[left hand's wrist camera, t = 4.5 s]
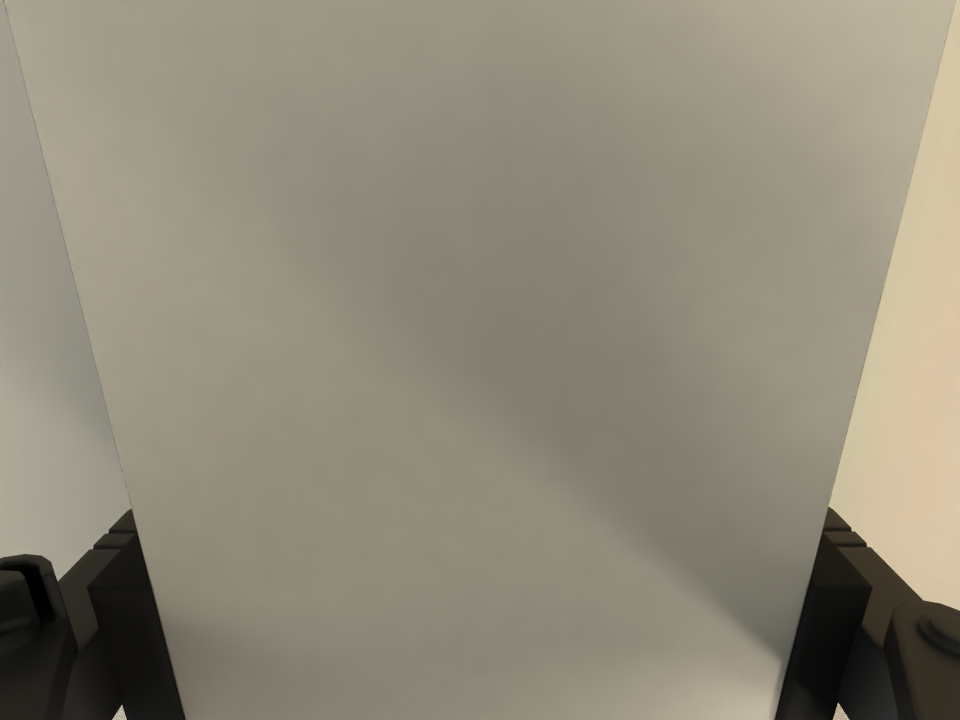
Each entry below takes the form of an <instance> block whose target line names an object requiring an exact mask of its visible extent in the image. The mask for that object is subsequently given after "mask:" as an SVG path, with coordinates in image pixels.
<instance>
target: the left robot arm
mask: <svg viewBox="0 0 960 720" xmlns="http://www.w3.org/2000/svg"><path fill="white" fill-rule="evenodd" d="M838 703H839V704H840V706H841V707H842V709H843V710H844V712H845V713H846V715H847V716H848V718H849V719H850V720H960V611H959V610H956V609H954V608H951V607H948V606H945V605H943V604H940V603H934V602H928V601H923V600H922V599H921V598H920V597H919V596H918V595H917V594H916V593H915V592H914V591H913V590H912V589H911V588H910V587H909V586H908V585H907V584H906V583H905V582H904V581H903V580H902V579H901V578H900V577H899V576H898V575H897V574H896V573H895V572H894V571H893V569H892V568H891V567H890V566H889V565H888V564H887V563H886V562H885V561H884V560H883V559H882V558H881V557H880V556H879V555H878V554H877V553H876V552H875V551H874V550H873V549H872V548H871V547H867V543H866V542H865V541H864V540H863V539H862V538H861V537H860V536H859V535H858V534H857V533H856V532H852V530H851V527H850V526H849V525H848V524H847V523H846V522H845V521H844V520H843V519H842V518H841V517H840V516H839V515H838V514H837V513H836V512H835V511H834V510H833V509H831V508H830V507H828V510H827V514H826V518H825V521H824V525H823V529H822V533H821V537H820V541H819V545H818V549H817V553H816V557H815V561H814V565H813V569H812V573H811V577H810V581H809V585H808V589H807V593H806V597H805V601H804V605H803V609H802V613H801V617H800V621H799V625H798V628H797V632H796V636H795V640H794V644H793V648H792V652H791V656H790V660H789V664H788V668H787V672H786V676H785V680H784V684H783V688H782V692H781V696H780V700H779V704H778V708H777V712H776V716H775V720H833V717H834V714H835V710H836V707H837V704H838ZM121 705H123V709H124V712H125V715H126V718H127V720H185V717H184V713H183V709H182V706H181V702H180V698H179V694H178V690H177V686H176V682H175V678H174V674H173V670H172V666H171V662H170V658H169V654H168V650H167V646H166V642H165V638H164V634H163V630H162V626H161V622H160V618H159V614H158V610H157V606H156V603H155V599H154V595H153V591H152V587H151V583H150V579H149V575H148V571H147V567H146V563H145V559H144V555H143V551H142V547H141V543H140V539H139V535H138V531H137V527H136V523H135V519H134V515H133V511H132V509H130V510H129V511H127V512H126V513H125V514H124V515H123V516H122V517H121V518H120V519H119V520H118V521H117V522H116V523H115V524H114V525H113V526H112V527H111V528H110V529H109V533H108V534H104V535H103V536H102V537H101V538H100V539H99V540H98V541H97V542H96V543H95V544H94V547H93V549H90V550H89V551H88V552H87V553H86V554H85V555H84V556H83V557H82V558H81V559H80V560H79V561H78V562H77V563H76V564H75V565H74V566H73V567H72V568H71V569H70V570H69V571H68V572H67V573H66V574H65V575H64V576H63V577H62V578H61V579H60V580H59V581H58V582H57V579H56V576H55V573H54V570H53V567H52V563H51V562H50V561H49V560H47V559H46V558H44V557H43V556H39V555H28V554H23V555H16V556H10V557H3V558H0V720H112V719H113V717H114V716H115V714H116V713H117V711H118V710H119V708H120V706H121Z"/></svg>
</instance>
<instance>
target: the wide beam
mask: <svg viewBox="0 0 960 720" xmlns="http://www.w3.org/2000/svg"><path fill="white" fill-rule="evenodd" d="M955 2H956V0H4V4H5V8H6V12H7V16H8V20H9V24H10V28H11V32H12V36H13V40H14V44H15V48H16V52H17V56H18V60H19V64H20V68H21V72H22V76H23V80H24V84H25V88H26V92H27V95H28V99H29V103H30V107H31V111H32V115H33V119H34V123H35V127H36V131H37V135H38V139H39V143H40V147H41V151H42V155H43V159H44V163H45V167H46V171H47V175H48V179H49V183H50V187H51V191H52V195H53V198H54V202H55V206H56V210H57V214H58V218H59V222H60V226H61V230H62V234H63V238H64V242H65V246H66V250H67V254H68V258H69V262H70V266H71V270H72V274H73V278H74V282H75V286H76V290H77V294H78V297H79V301H80V305H81V309H82V313H83V317H84V321H85V325H86V329H87V333H88V337H89V341H90V345H91V349H92V353H93V357H94V361H95V365H96V369H97V373H98V377H99V381H100V385H101V389H102V393H103V397H104V400H105V404H106V408H107V412H108V416H109V420H110V424H111V428H112V432H113V436H114V440H115V444H116V448H117V452H118V456H119V460H120V464H121V468H122V472H123V476H124V480H125V484H126V488H127V492H128V496H129V500H130V503H131V507H132V511H133V515H134V519H135V523H136V527H137V531H138V535H139V539H140V543H141V547H142V551H143V555H144V559H145V563H146V567H147V571H148V575H149V579H150V583H151V587H152V591H153V595H154V599H155V603H156V606H157V610H158V614H159V618H160V622H161V626H162V630H163V634H164V638H165V642H166V646H167V650H168V654H169V658H170V662H171V666H172V670H173V674H174V678H175V682H176V686H177V690H178V694H179V698H180V702H181V706H182V709H183V713H184V717H185V720H775V716H776V712H777V708H778V704H779V700H780V696H781V692H782V688H783V684H784V680H785V676H786V672H787V668H788V664H789V660H790V656H791V652H792V648H793V644H794V640H795V636H796V632H797V628H798V625H799V621H800V617H801V613H802V609H803V605H804V601H805V597H806V593H807V589H808V585H809V581H810V577H811V573H812V569H813V565H814V561H815V557H816V553H817V549H818V545H819V541H820V537H821V533H822V529H823V525H824V521H825V518H826V514H827V510H828V506H829V502H830V498H831V494H832V490H833V486H834V482H835V478H836V474H837V470H838V466H839V462H840V458H841V454H842V450H843V446H844V442H845V438H846V434H847V430H848V426H849V422H850V418H851V414H852V411H853V407H854V403H855V399H856V395H857V391H858V387H859V383H860V379H861V375H862V371H863V367H864V363H865V359H866V355H867V351H868V347H869V343H870V339H871V335H872V331H873V327H874V323H875V319H876V315H877V311H878V307H879V304H880V300H881V296H882V292H883V288H884V284H885V280H886V276H887V272H888V268H889V264H890V260H891V256H892V252H893V248H894V244H895V240H896V236H897V232H898V228H899V224H900V220H901V216H902V212H903V208H904V204H905V200H906V197H907V193H908V189H909V185H910V181H911V177H912V173H913V169H914V165H915V161H916V157H917V153H918V149H919V145H920V141H921V137H922V133H923V129H924V125H925V121H926V117H927V113H928V109H929V105H930V101H931V97H932V94H933V90H934V86H935V82H936V78H937V74H938V70H939V66H940V62H941V58H942V54H943V50H944V46H945V42H946V38H947V34H948V30H949V26H950V22H951V18H952V14H953V10H954V6H955Z"/></svg>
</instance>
